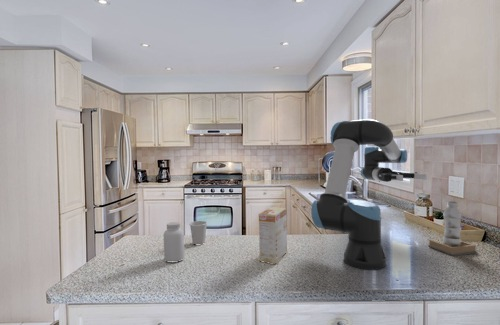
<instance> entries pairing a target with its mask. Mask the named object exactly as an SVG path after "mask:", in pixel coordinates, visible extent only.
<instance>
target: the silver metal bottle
mask: <svg viewBox="0 0 500 325" xmlns="http://www.w3.org/2000/svg"><path fill="white" fill-rule="evenodd" d="M458 206H459V205H458V202H456V201H447V202H446V209H445V210H444V211H443V214H442V215H443V221H444V233H443V237H442V244H445V245H448V246H451V247H458V246H461V241H462V239H461V231H460V230H461V222H462V215H463V214H462V213H461V211H460V210H459V209H458Z"/></svg>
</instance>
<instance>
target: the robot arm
mask: <svg viewBox="0 0 500 325" xmlns="http://www.w3.org/2000/svg"><path fill="white" fill-rule="evenodd" d="M330 142H331V145H332V146H333V148H334V153H333V157H332V161H331V165H330V170H329V173H328V177H327V178H328V179H327V182H326V185H325V189H324V190H325V191H324V192H323V193H321V194H320V196H319V199H315V200H314V201H313V202H312V204H311V212H310V213H311V219H312V222H313V224H314V226H315V227H317V228H318V229H323V230H325V231H326V230H329V231H334V232H341V233H346V234H347V233H348V234H347V235H348V240H347V244H346V248H345V250H344V254H343V261H344V262H345V263H346V264H348V265H349V266H351V267H354V268H358V269H363V270H381V269H384V268H385V267H386V266H387V257H386V255H385V251H384V249H383V246H382V216H381V213H382V212H381V208H380V207H379V205H378V204H376V203H373V202H370V201H367V200H361V199H358V200H357V199H350V200H348V199H347V198H346V194H347V189H348V184H349V181H350V180H349V178H350V174H351V170H352V167H353V166H352V165H353V160H354V156H355V155H354V154H355V153H356V152H357V151H358V150H359V148H360V146H365V145H374V146H366V147H364V154H363V156H364V166H363V167H362V168H361V169H360V176H361V178H363V179H365V180H370V181H371V180H372V181H378V182H379V183H380V182H387V183H388V182H391V181H399V182H403V181H404V179H415V180H424V181H425V180H426V181H427V173H419V172H417V171H414V172H401V171H393V169H391V168H390V167H383V166H382V167H381V166H380V167H379V164H384V163H385V164H390V163H391V164H401V163H402V164H406V163H407V161H408V151H407V149H406V148H405V149H404V148H399V146H398V145H397V143H396V141H395V140H394V132H393V131H392V130H391V128H390V127H389V126H387V125H386V124H385V123H384V122H381V121H378V120H375V119H369V118H368V119H367V118H365V119H356V120H355V119H354V120H342V121H337V122H336V123H334V124H333V126H332V128H331V130H330Z"/></svg>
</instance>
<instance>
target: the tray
mask: <svg viewBox="0 0 500 325" xmlns="http://www.w3.org/2000/svg"><path fill="white" fill-rule="evenodd" d="M428 242H429V243H428V247H429V248H432V249H435V250H436V251H440V252H442V253H445V254H448V255H451V256H454V257H457V256H464V255H470V254H471V253H472V254H477V253H478V251H476V249H477V246H476V244H472V243H470V242H467V241H463V240H461V246H458V247H451V246H448V245H445V244H443V242H442V243H441V242H438V241H436V240H433V239H429V241H428Z"/></svg>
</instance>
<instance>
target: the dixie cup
mask: <svg viewBox="0 0 500 325" xmlns="http://www.w3.org/2000/svg"><path fill="white" fill-rule="evenodd" d="M207 224H208V222H207V221H205V220H196V221H192V222H191V221H190V223H189V227H190V228H189V229H190V233H191V239H192V240H191V241H192V245H193V244H203V243H205V244H206V234H207ZM203 245H204V244H203Z"/></svg>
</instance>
